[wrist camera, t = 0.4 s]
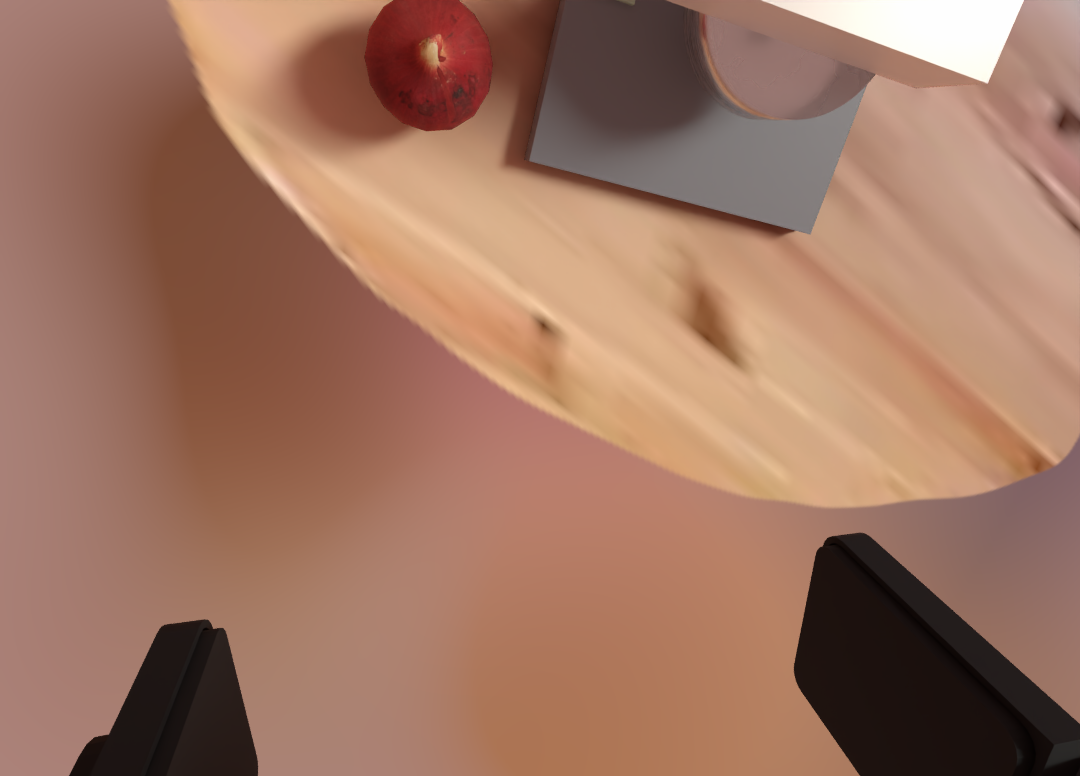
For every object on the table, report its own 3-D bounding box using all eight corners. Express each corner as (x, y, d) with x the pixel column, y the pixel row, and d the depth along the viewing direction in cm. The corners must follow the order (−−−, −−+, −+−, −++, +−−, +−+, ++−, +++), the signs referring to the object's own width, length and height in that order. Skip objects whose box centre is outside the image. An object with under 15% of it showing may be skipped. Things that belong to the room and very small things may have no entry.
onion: (503, 93, 35) (530, 84, 27) (412, 151, 35) (415, 158, 28) (442, -19, 32) (455, -60, 25) (345, 45, 32) (329, 22, 25)
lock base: (613, -237, 30) (655, -308, 25) (919, -100, 35) (1005, -137, 30) (524, 159, 36) (544, 165, 31) (796, 230, 41) (851, 245, 36)
